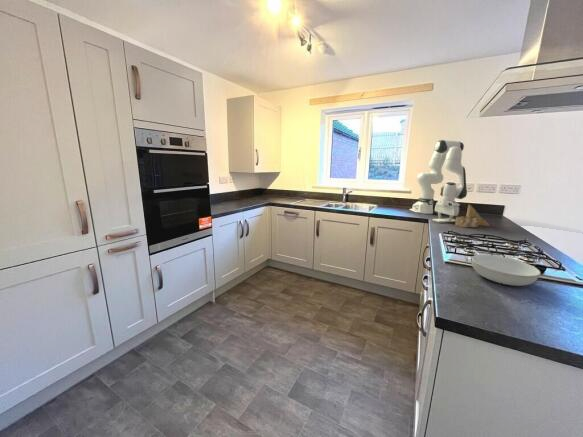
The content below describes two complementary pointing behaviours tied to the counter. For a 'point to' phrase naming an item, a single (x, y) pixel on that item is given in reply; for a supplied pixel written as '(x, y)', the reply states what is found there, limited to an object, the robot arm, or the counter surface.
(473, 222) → the crate
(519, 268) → the serving bowl
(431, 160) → the robot arm
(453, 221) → the lid
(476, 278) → the counter surface
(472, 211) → the sandwich container
